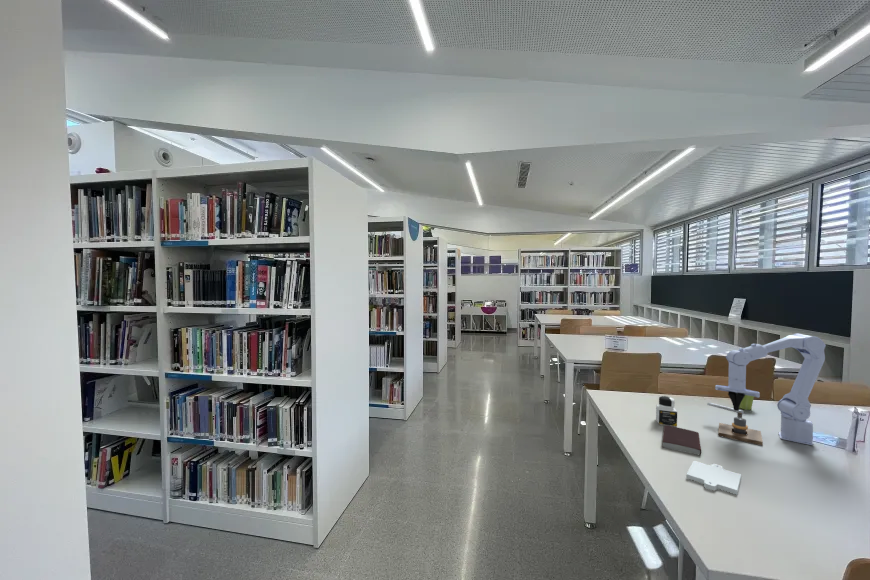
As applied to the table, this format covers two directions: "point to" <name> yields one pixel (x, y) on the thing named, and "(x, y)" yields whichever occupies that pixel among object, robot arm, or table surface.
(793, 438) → the robot arm
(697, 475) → the mounting plate
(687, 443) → the book
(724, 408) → the grey rectangular bar
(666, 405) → the medicine bottle
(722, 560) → the table surface
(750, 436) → the socket block
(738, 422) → the plug
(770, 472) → the table surface
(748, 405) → the plant pot
